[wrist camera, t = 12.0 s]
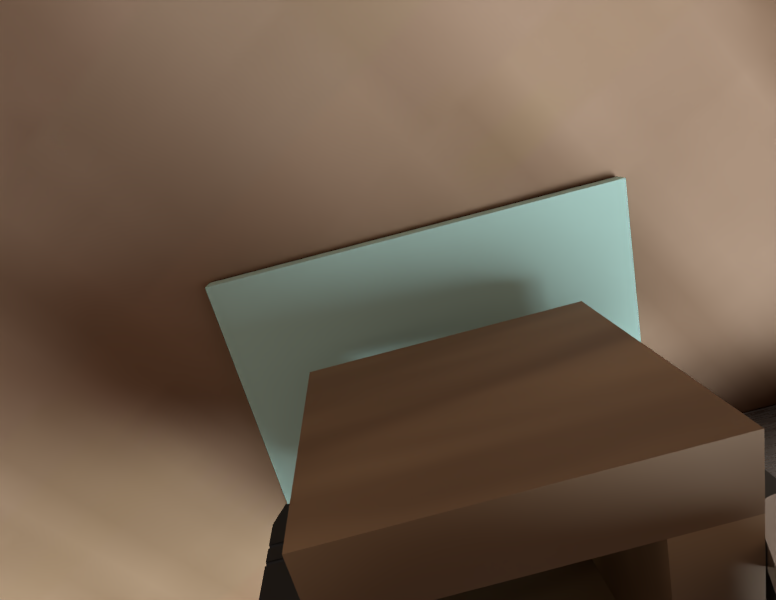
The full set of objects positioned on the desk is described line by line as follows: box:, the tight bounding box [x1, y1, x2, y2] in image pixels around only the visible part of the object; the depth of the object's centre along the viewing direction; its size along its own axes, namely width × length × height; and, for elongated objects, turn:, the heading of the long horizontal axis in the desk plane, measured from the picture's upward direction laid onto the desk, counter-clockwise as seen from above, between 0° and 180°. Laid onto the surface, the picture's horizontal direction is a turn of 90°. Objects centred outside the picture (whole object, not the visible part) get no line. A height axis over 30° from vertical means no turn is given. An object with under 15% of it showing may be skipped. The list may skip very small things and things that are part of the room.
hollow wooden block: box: [282, 301, 766, 600], centre depth 9 cm, size 6×6×5 cm
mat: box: [205, 177, 641, 504], centre depth 13 cm, size 10×10×1 cm
